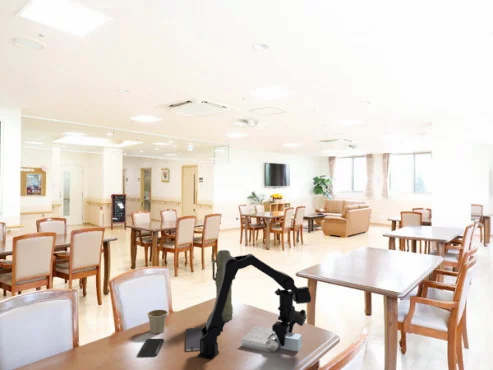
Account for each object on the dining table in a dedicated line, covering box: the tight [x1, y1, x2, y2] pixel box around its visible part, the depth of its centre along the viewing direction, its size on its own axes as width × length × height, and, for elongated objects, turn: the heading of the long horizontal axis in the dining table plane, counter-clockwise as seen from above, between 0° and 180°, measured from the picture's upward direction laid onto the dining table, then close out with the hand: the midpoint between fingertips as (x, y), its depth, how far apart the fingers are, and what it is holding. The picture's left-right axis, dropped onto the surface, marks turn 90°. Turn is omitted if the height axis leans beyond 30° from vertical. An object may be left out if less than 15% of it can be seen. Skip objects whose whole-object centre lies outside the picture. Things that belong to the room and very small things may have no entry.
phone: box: [137, 338, 165, 358], centre depth 144 cm, size 8×1×15 cm
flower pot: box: [146, 309, 169, 334], centre depth 161 cm, size 9×9×9 cm
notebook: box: [185, 326, 204, 352], centre depth 152 cm, size 13×2×21 cm
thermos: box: [212, 249, 236, 323], centre depth 177 cm, size 9×12×35 cm
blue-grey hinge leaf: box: [276, 332, 303, 352], centre depth 145 cm, size 11×6×5 cm, turn 65°
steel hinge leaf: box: [240, 325, 280, 353], centre depth 149 cm, size 16×16×5 cm
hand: (286, 341), depth 145 cm, fingers open, 9 cm apart
